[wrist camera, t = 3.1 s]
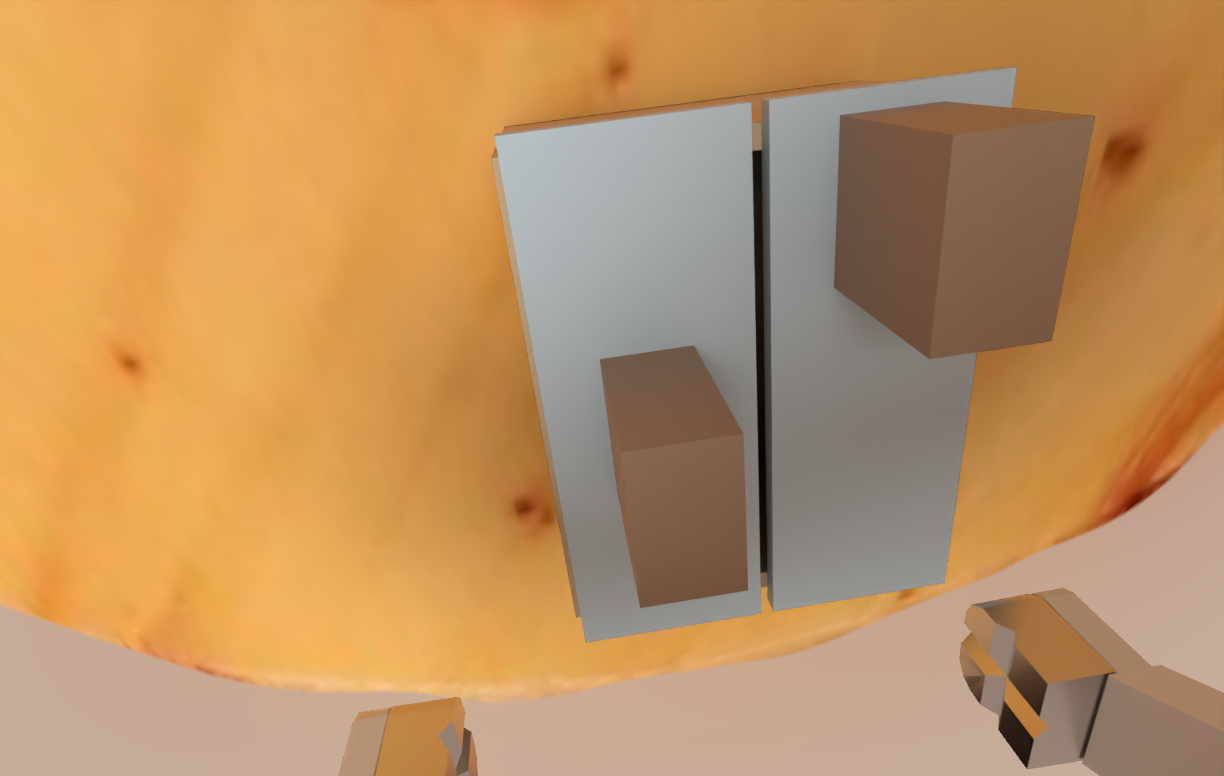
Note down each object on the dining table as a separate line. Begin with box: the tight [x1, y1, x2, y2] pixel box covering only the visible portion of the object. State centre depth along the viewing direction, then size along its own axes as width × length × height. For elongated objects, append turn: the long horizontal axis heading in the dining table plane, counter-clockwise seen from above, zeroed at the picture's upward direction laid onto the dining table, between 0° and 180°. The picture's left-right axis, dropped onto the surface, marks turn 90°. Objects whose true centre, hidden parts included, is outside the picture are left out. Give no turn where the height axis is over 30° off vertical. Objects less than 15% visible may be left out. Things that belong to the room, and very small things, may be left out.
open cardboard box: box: [491, 81, 885, 618], centre depth 22 cm, size 12×14×8 cm
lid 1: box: [494, 101, 761, 642], centre depth 16 cm, size 6×15×5 cm, turn 7°
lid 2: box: [761, 67, 1095, 611], centre depth 16 cm, size 6×15×5 cm, turn 7°
